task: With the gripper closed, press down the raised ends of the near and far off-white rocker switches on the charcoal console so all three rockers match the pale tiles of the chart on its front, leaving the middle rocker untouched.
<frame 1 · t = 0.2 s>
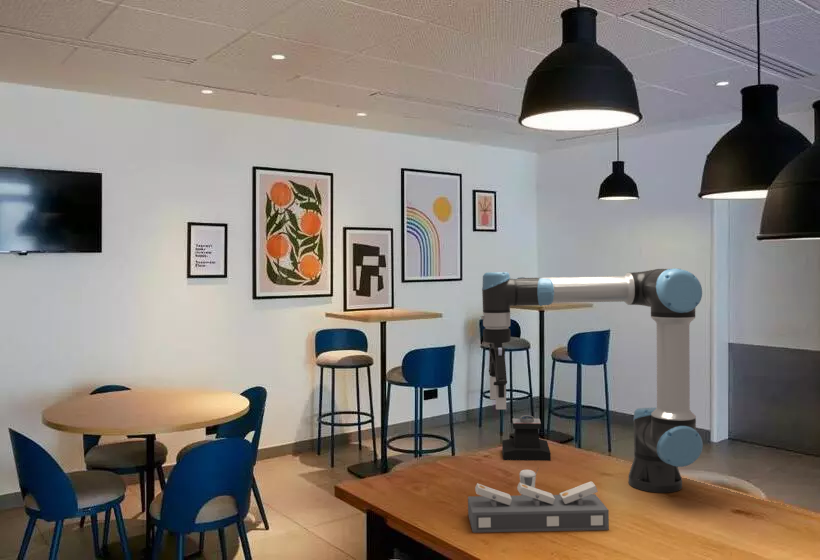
hand: (497, 404, 190), 28 cm above the table, fingers open, 13 cm apart
console: (536, 522, 177), on the table
rocker far: (493, 493, 177), point 8 cm above the table, hinge at -20.0°
rocker mid: (535, 493, 177), point 8 cm above the table, hinge at -20.0°
rocker near: (578, 492, 177), point 8 cm above the table, hinge at 20.0°
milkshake: (529, 503, 192), on the table
black pedestal stand: (525, 455, 241), on the table
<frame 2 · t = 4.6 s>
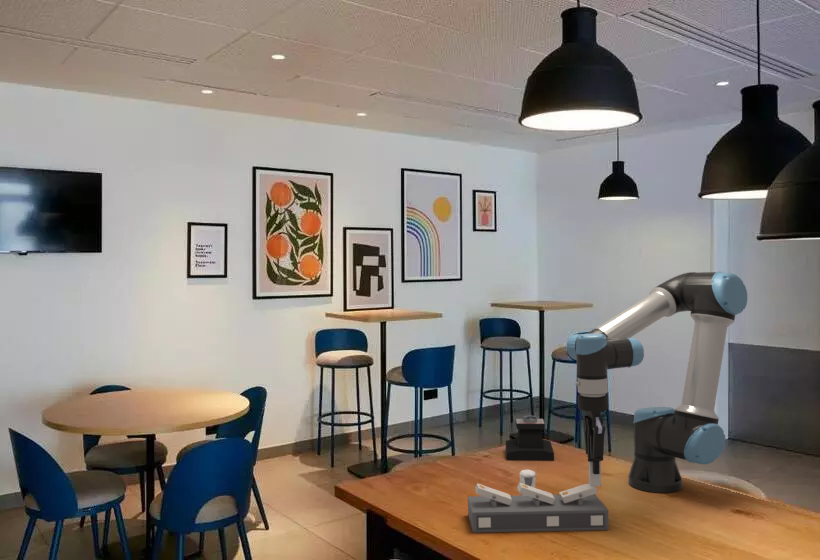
hand: (595, 485, 177), 9 cm above the table, fingers closed
rocker near: (578, 492, 177), point 8 cm above the table, hinge at 16.2°, touching gripper
black pedestal stand: (528, 455, 240), on the table
everything else where it was.
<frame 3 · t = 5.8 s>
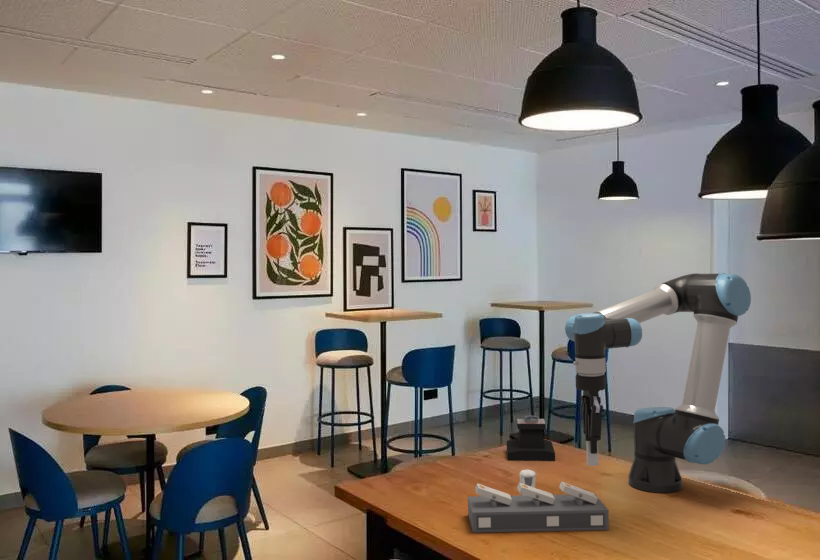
hand: (592, 464, 177), 15 cm above the table, fingers closed
rocker near: (578, 492, 177), point 8 cm above the table, hinge at -21.7°
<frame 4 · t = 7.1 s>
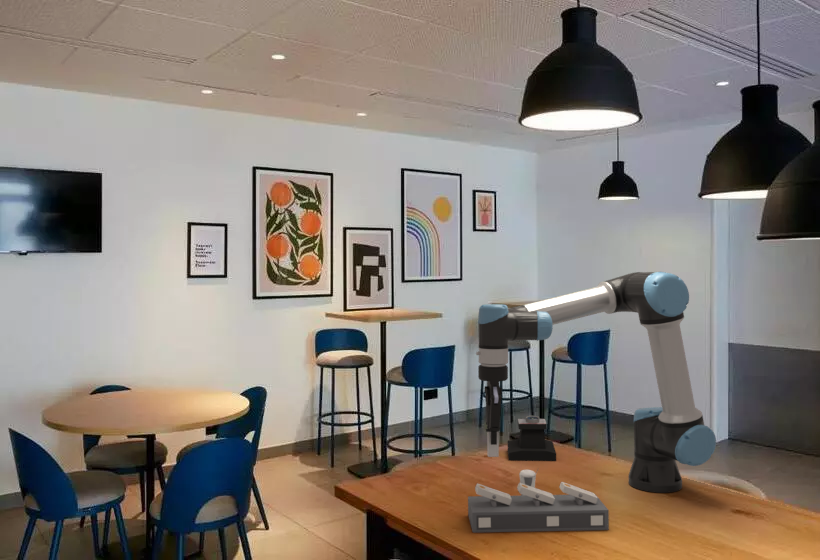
hand: (492, 455, 176), 17 cm above the table, fingers closed
rocker near: (578, 492, 177), point 8 cm above the table, hinge at -20.6°
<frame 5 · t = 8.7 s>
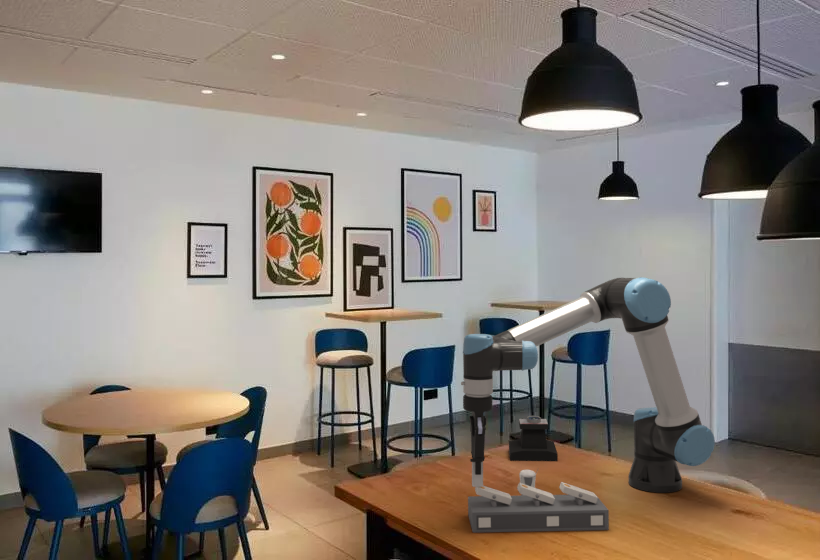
hand: (477, 485, 177), 10 cm above the table, fingers closed
rocker far: (493, 493, 177), point 8 cm above the table, hinge at -18.8°, touching gripper
rocker near: (578, 492, 177), point 8 cm above the table, hinge at -19.6°
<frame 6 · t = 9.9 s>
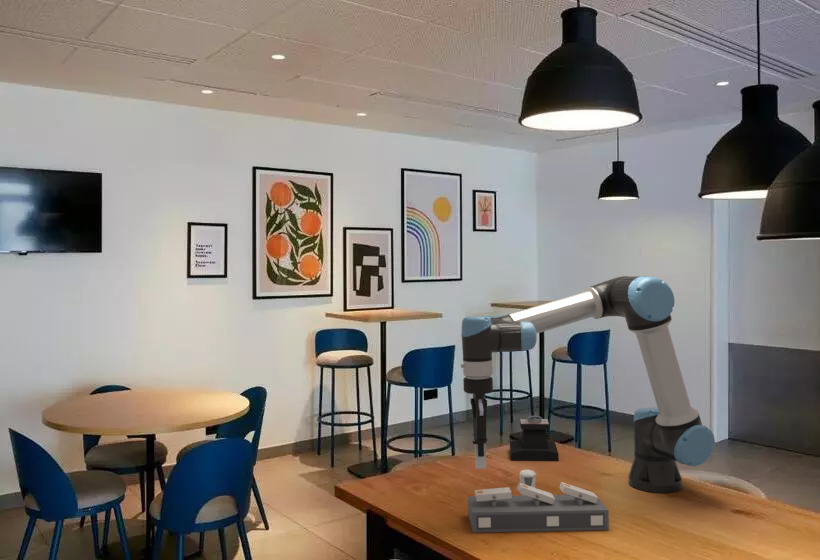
hand: (480, 467, 177), 14 cm above the table, fingers closed
rocker far: (493, 493, 177), point 8 cm above the table, hinge at 4.0°
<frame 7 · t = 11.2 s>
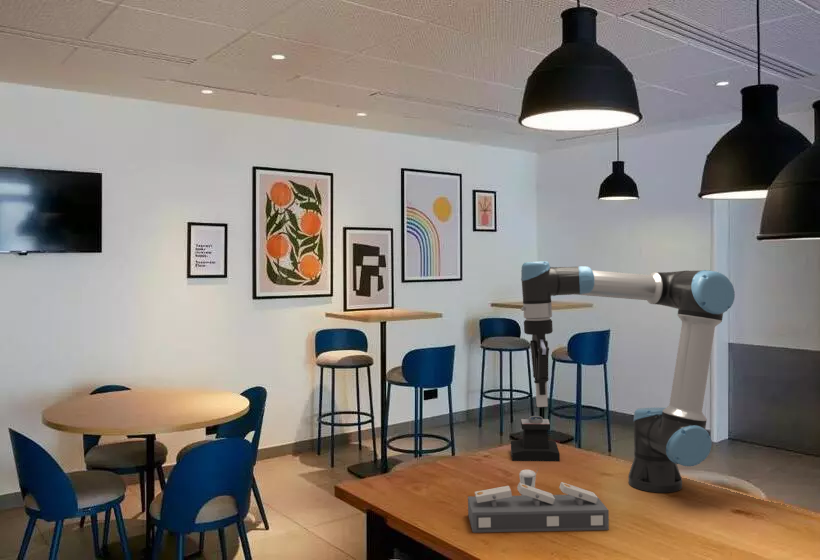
hand: (542, 406, 185), 28 cm above the table, fingers closed
rocker far: (493, 493, 177), point 8 cm above the table, hinge at 9.4°
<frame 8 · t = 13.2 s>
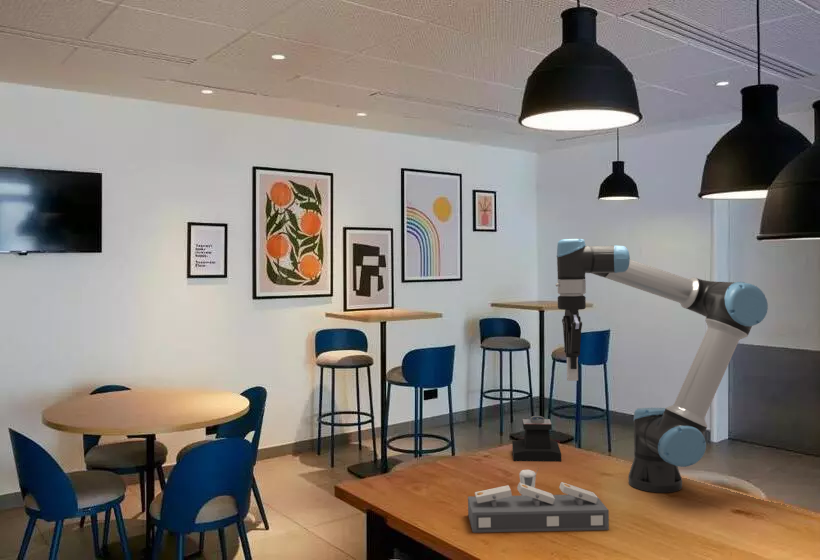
hand: (572, 380, 189), 34 cm above the table, fingers closed
rocker far: (493, 493, 177), point 8 cm above the table, hinge at 10.8°
at the end: rocker near at -19° (first picture: +20°); rocker far at +11° (first picture: -20°); rocker mid at -20° (first picture: -20°) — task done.
